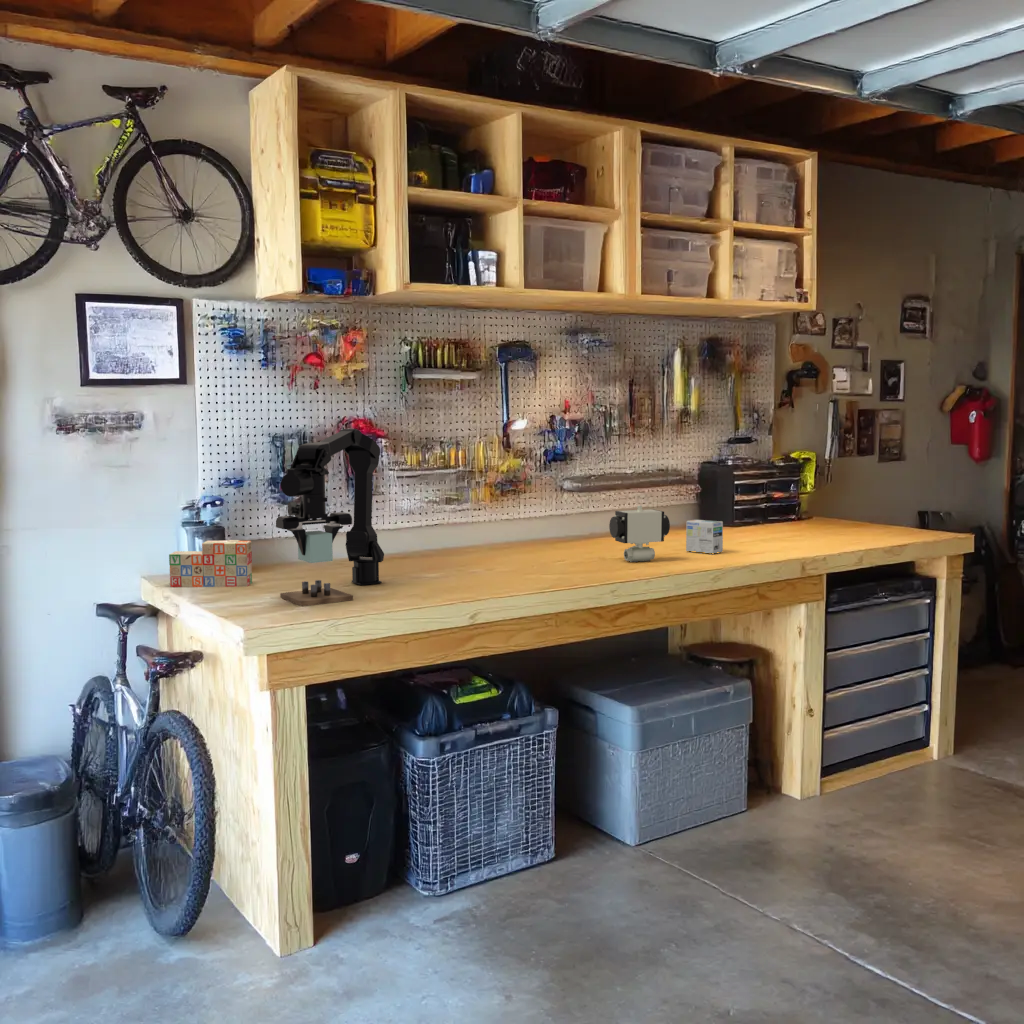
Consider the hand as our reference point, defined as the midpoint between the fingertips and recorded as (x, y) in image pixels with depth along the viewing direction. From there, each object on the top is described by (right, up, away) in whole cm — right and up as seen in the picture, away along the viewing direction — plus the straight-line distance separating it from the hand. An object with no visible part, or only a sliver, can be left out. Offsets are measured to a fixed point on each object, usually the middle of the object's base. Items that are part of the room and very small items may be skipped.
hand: (315, 554), depth 260 cm
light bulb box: (+115, -3, +82) cm, 142 cm away
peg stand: (0, -12, +1) cm, 12 cm away
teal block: (0, -2, 0) cm, 2 cm away
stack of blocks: (-33, -10, +23) cm, 41 cm away
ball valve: (+91, -5, +63) cm, 111 cm away
